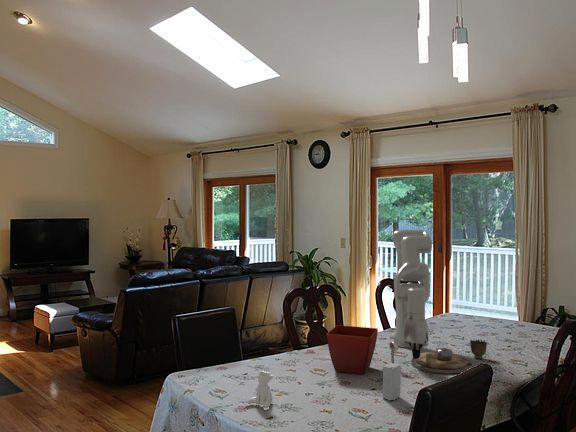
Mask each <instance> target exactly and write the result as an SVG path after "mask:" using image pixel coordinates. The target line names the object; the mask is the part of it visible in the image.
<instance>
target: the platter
mask: <svg viewBox="0 0 576 432" xmlns="http://www.w3.org/2000/svg"><path fill="white" fill-rule="evenodd" d="M467 361H468V359H467V358H466V357H464V356H462V355H460V354H456V353H452V360H451V361H440V360H437V359H436V351H428V352H427V351H425V352H420V357H419V358H418V359H416V362H417V363H418V364H420V365H423V366H426V367H430V368H436V369H460V368H464V367H466V366H467Z"/></svg>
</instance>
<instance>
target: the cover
mask: <svg viewBox="0 0 576 432" xmlns="http://www.w3.org/2000/svg"><path fill="white" fill-rule="evenodd" d="M435 352H436V359H437V360H440V361H451V360H452V354H453V349H452V348H449V347H438V348H435Z"/></svg>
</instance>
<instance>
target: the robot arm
mask: <svg viewBox="0 0 576 432" xmlns="http://www.w3.org/2000/svg"><path fill="white" fill-rule="evenodd" d="M392 242H393V246H394V248H395V251H396V262H397V263H396V273H395V274H394V275H395V276H394V279H393V290H394V291H393V292H394V293H393V295H394V299H395V300H394V301H395V334H392V333H391V334H390V335H389V339H392V340H393V341H392V342H396V343H397V344H398V346H399V348H404V349H405V348H406V349H407V348H411V349H412V352H411V353H412V354H411V355H412V359H413V358H415V359H418V358H419V357H420V353H421V349H422V348H423V347H428V346H429V343H428V342H429V328H428V322H427V319H426V302H428V301H429V299H430V267H429V265H428V264H427V263H425V262H421V254H429V253H431V251H432V249H433V243H432V238H431V236H430V234H429V233H428V231H427V230H424V229H398V230H395V231H393V233H392ZM401 281H405V283H402V282H401ZM406 282H411V283H406ZM412 282H419V283H412Z"/></svg>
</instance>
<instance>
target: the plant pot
mask: <svg viewBox="0 0 576 432" xmlns="http://www.w3.org/2000/svg"><path fill="white" fill-rule="evenodd" d="M378 333H379V329H378V327H377V328H376V327H365V326H354V325H353V326H352V325H340V324H339V325H335V326H334V327H332V328H331V329H330V330H328V332H327V333H326V339H327V340H326V341H327V345H328V350H329V356H330V360H331V362H332V366H333V369H334V371H335V372H336V371H337V373H344V372H347V373H346V374H353V373H355V375H365V374H366V373H367V371H368V370H369V368H370V366H371V363H372V360H373V356H374V352H375V349H376V344H377V339H378Z"/></svg>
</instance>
